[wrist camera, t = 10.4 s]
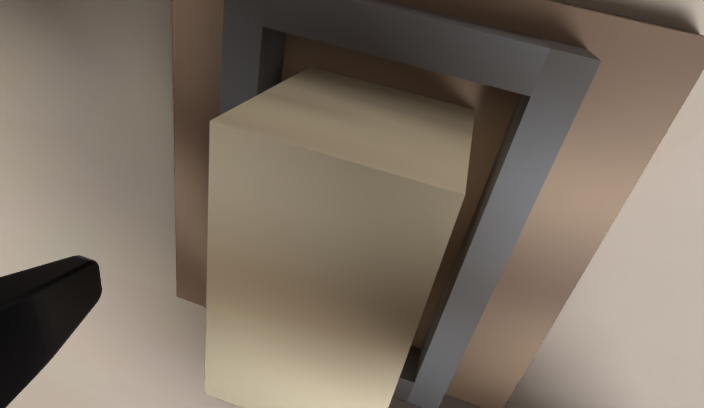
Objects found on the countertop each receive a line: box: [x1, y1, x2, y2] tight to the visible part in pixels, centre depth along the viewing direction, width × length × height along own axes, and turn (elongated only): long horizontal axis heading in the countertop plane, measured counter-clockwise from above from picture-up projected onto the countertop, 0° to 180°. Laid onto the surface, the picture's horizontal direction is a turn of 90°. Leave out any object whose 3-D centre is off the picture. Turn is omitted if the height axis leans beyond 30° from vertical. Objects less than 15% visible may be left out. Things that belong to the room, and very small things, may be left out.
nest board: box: [172, 0, 704, 408], centre depth 13 cm, size 13×13×2 cm
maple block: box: [205, 67, 475, 408], centre depth 11 cm, size 8×4×5 cm, turn 169°
